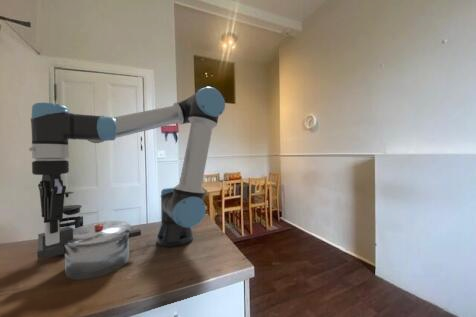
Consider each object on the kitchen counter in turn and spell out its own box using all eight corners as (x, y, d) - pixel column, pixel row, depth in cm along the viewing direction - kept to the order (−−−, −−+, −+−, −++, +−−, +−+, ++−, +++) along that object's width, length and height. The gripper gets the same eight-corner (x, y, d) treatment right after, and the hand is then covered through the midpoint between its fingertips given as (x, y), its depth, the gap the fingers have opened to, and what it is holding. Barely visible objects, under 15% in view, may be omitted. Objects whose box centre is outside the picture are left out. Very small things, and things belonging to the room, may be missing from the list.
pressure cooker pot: (136, 244, 85) (135, 220, 84) (145, 262, 70) (145, 233, 70) (44, 266, 68) (43, 236, 68) (32, 296, 53) (31, 258, 53)
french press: (66, 257, 74) (65, 194, 73) (42, 257, 74) (41, 194, 74) (92, 243, 85) (91, 189, 85) (71, 243, 86) (70, 189, 86)
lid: (111, 221, 82) (111, 210, 82) (141, 229, 73) (141, 216, 73) (28, 245, 61) (27, 229, 61) (55, 260, 52) (55, 242, 52)
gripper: (25, 159, 57) (26, 243, 57) (40, 160, 50) (41, 255, 50) (59, 159, 63) (60, 234, 63) (77, 159, 56) (78, 243, 57)
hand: (52, 243), depth 57 cm, fingers closed
